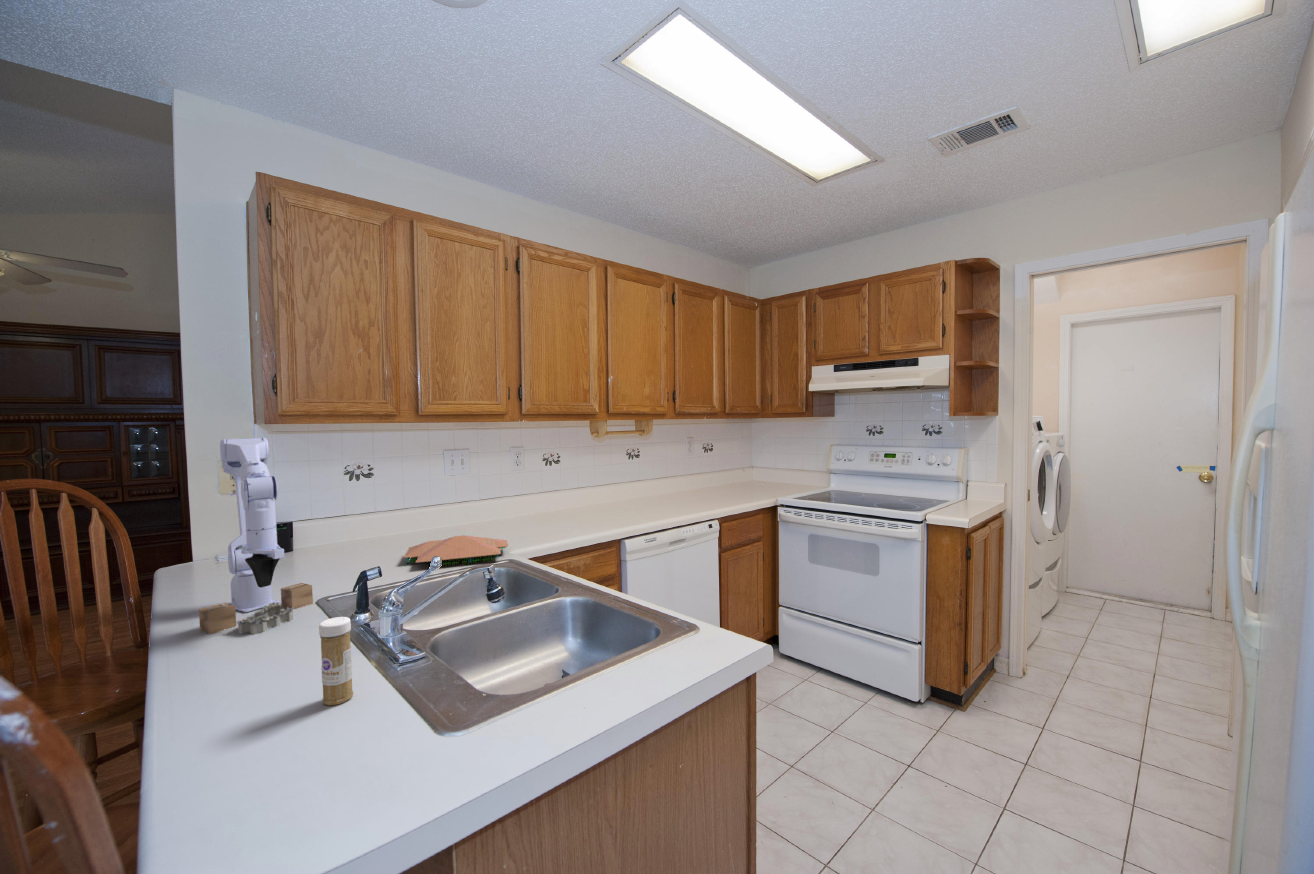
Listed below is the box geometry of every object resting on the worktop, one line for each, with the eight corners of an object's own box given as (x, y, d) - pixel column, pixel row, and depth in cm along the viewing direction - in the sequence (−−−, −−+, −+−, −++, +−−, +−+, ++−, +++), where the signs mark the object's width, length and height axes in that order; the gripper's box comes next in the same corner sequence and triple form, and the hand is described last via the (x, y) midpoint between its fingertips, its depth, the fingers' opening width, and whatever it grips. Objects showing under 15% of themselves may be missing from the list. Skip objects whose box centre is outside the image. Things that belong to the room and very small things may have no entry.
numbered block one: (281, 607, 138) (280, 587, 138) (302, 601, 143) (301, 582, 143) (292, 610, 136) (291, 589, 136) (312, 603, 140) (311, 584, 140)
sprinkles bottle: (316, 706, 88) (312, 626, 88) (333, 692, 93) (329, 616, 92) (344, 706, 88) (340, 625, 88) (359, 691, 93) (356, 615, 92)
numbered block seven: (200, 630, 124) (198, 608, 123) (225, 623, 128) (224, 601, 128) (210, 634, 121) (209, 611, 121) (236, 626, 126) (235, 604, 125)
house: (509, 562, 177) (508, 538, 177) (400, 574, 167) (399, 548, 167) (506, 547, 199) (505, 525, 199) (409, 556, 189) (408, 533, 189)
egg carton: (276, 617, 132) (275, 600, 132) (300, 619, 130) (299, 602, 130) (231, 633, 122) (230, 615, 122) (256, 636, 120) (256, 618, 120)
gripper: (225, 529, 125) (228, 587, 125) (258, 534, 118) (261, 595, 119) (259, 523, 131) (262, 578, 132) (292, 528, 124) (295, 586, 125)
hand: (264, 586), depth 126 cm, fingers closed
